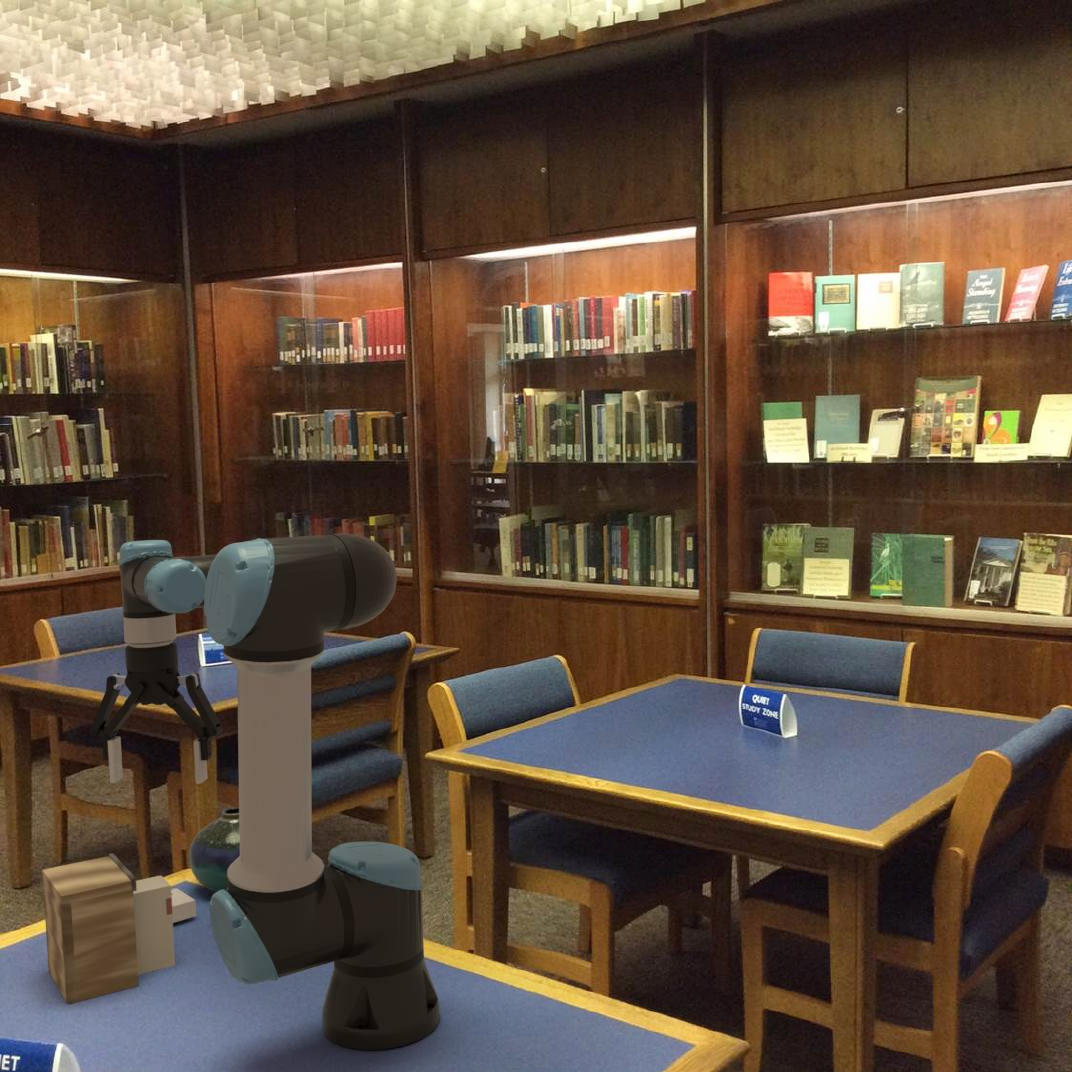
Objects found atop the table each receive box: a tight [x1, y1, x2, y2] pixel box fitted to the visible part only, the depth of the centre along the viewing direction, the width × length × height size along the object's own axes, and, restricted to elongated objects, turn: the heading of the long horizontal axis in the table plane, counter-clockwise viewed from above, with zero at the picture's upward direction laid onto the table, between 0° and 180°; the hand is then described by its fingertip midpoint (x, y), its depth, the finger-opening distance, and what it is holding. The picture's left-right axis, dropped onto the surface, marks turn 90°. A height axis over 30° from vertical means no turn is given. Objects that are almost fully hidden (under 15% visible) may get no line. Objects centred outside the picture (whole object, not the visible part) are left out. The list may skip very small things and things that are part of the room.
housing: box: [41, 852, 139, 1005], centre depth 175 cm, size 13×10×16 cm
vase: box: [188, 806, 240, 893], centre depth 209 cm, size 15×15×13 cm
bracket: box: [171, 887, 197, 924], centre depth 195 cm, size 13×7×8 cm, turn 130°
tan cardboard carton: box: [133, 875, 176, 976], centre depth 179 cm, size 5×10×12 cm, turn 123°
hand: (159, 781), depth 188 cm, fingers open, 13 cm apart
